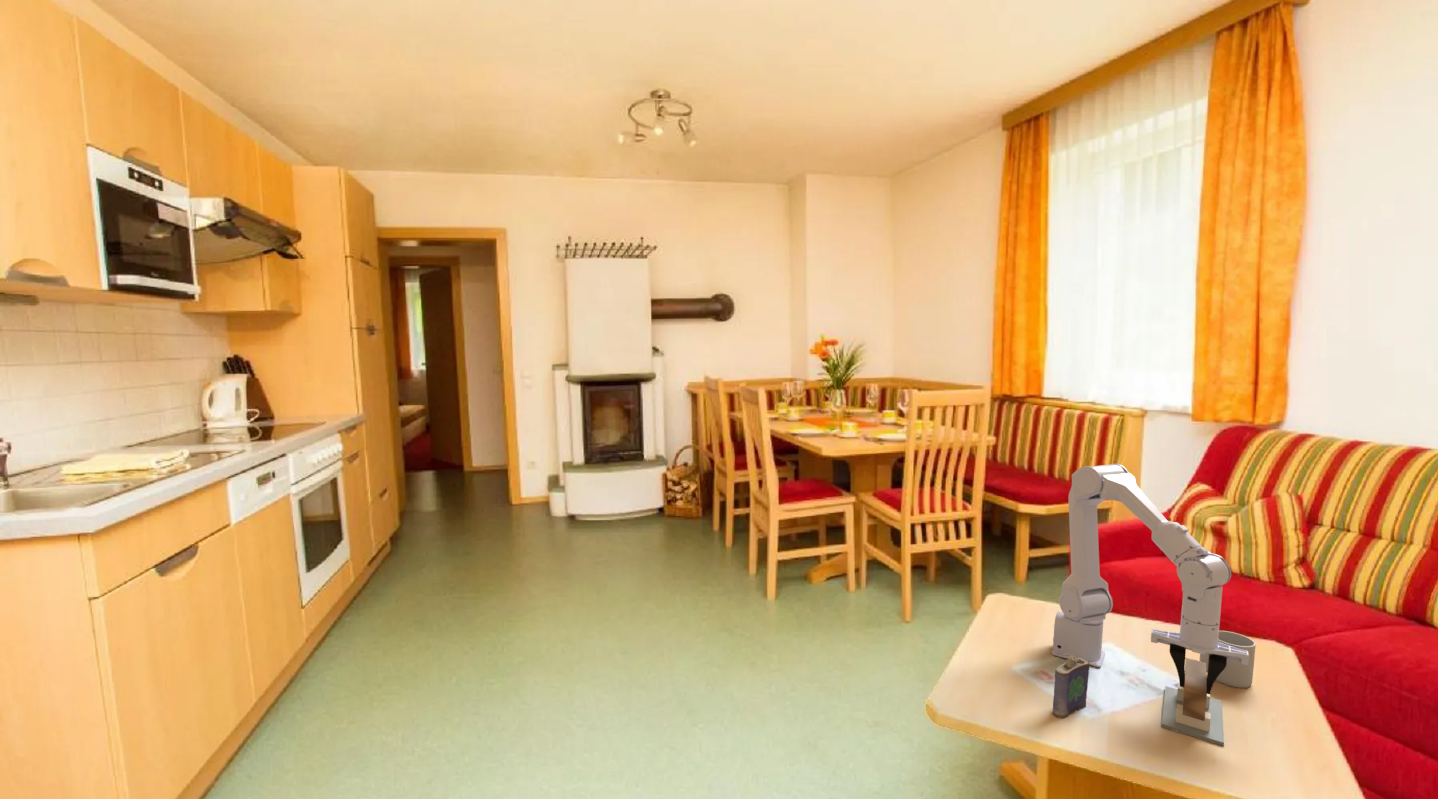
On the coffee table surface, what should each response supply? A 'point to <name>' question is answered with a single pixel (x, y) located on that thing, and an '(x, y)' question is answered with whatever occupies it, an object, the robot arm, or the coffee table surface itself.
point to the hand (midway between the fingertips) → (1194, 688)
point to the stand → (1191, 726)
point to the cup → (1234, 670)
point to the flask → (1070, 686)
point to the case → (1195, 689)
